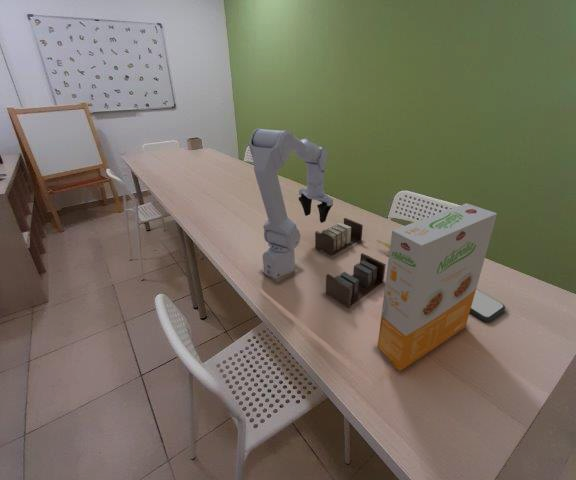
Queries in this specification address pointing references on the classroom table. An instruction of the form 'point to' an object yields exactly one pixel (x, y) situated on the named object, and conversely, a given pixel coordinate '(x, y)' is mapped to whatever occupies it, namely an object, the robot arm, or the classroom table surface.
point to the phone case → (485, 307)
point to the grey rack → (356, 281)
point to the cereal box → (432, 280)
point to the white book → (348, 232)
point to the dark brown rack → (337, 238)
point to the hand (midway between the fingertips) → (315, 218)
